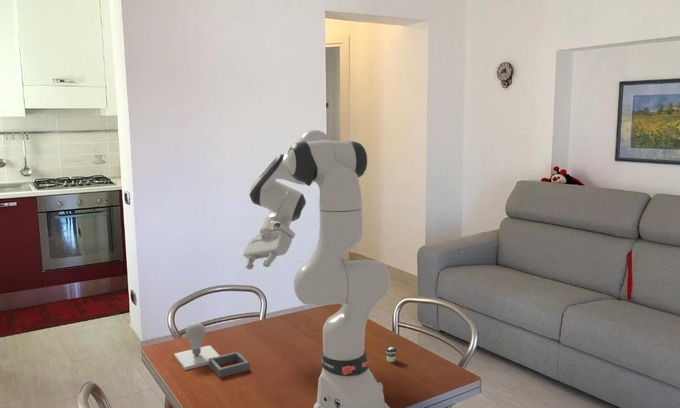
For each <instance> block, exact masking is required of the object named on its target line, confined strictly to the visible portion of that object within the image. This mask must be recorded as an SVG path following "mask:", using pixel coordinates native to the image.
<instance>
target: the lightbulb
mask: <svg viewBox="0 0 680 408" xmlns="http://www.w3.org/2000/svg"><path fill="white" fill-rule="evenodd" d="M205 335H206V327H205V326H204V325H203V324H202V323H201V322H198V321H193V322H190V323H189V324H188V325H187V327H186V328H185V336H186V339H187V340H188V341H189V343H190V348H191V350H192V353H193V355H196V356H197V355H199V354H200V353H201V347H202V342H203V338H204V337H205Z"/></svg>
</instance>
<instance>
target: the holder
mask: <svg viewBox="0 0 680 408" xmlns="http://www.w3.org/2000/svg"><path fill="white" fill-rule="evenodd" d="M233 362H237V363H235V364H231V365H227V366H223V367H221V366H220V365H224V364H229V363H233ZM208 366H209V367H210V369H211V370H212V371H213V372H214V373H215V374H216V375H217V376H218V378H220V379H221V378H224V377H228V376H231V375H236V374H239V373H243V372H247V371H250V361H248V359H246V358H245V357H244V356H243V355H242V354H241V353H240V352H239V351H234V352H230V353H227V354H223V355H222V354H221V355H220V356H217V357H213V358H209V364H208Z"/></svg>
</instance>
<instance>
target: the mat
mask: <svg viewBox="0 0 680 408" xmlns="http://www.w3.org/2000/svg"><path fill="white" fill-rule="evenodd" d="M217 356H221V355H220V354H219V353H218V352H217V351H216V350H215V349H214V348H213V347H212V346H211V345H206V346H201V353H200V354H199V355H197V356H196V355H193V353H192V349H188V350H184V351H180V352H175V353H173V357H174V358H175V360H176V361H177V362H178V363H179V365H180V366H181V368H182V369H183V370H184V371H188V370H191V369H196V368H199V367H204V366H207V365H208V366H209V358H213V357H217Z"/></svg>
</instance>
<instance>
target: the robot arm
mask: <svg viewBox="0 0 680 408" xmlns="http://www.w3.org/2000/svg"><path fill="white" fill-rule="evenodd" d="M367 167H368V154H367V152H366V149H365V147H364V146H363V145H362V144H361V143H360V142H356V141H352V140H346V141H343V140H331V138H330V137H329V136H328V134H327V133H326V132H324V131H321V130H317V129H311V130H308V131H306V132H305V133H304V134H302V136H301V137H300V138H299V139H298V140H297V142H295V143H293V144H291V146H290V147H289V149H288V152H287V153H282V154H281V153H280V154H279V155H278V156H276V157H275V158H274V159H273V160H272V162H271V163H270V164H269V165H268V166H267V168H266V169H265V170H264V171H263V172H262V173H261V175H260V176H259V177H258V178H256V179H255V180H254V182H253V183H252V185H251V187H250V189H249V197H250V200H251V202H252V203H253V204H254V205H257V206H260V207H263V208H265V209H267V210H269V213H268V215H267V216H266V217H265V218H264V221H263V223H262V225H261V227H260V229H259V234H257V235H256V236H253V237H252V238H251V239H250V240H249V242H248V243H247V245H246V247H245V249H244V250H243V254H242V255H243V257H244V258H246V259H247V263H246V265H245V268H246V269H247V270H253V268H254V266H255V265H254V262H255V261H256V260H260V259H265V258H267V259H265V260H264V261H263V264H262V265H263V267H265V268H269V267H271V265H272V263H273V262H274V260H275V259H276V258H277V257H278V256H284V255H285V254H286V253H287V252H288V251H289V248H290V247H291V244H292V241H293V239H294V238H295V237H296V233H295V232H294V231H293V230H292V229H291V228H290V226H291V223H293V222H295V221H298V220H299V219H300V217H301V213H302V211H303V209H304V208H305V206H306V204H307V200H306V198H305V195H304V194H303V193H302V192H300V191H299V190H298V189H297V190H296V189H295V188H292V186H291V187H290V186H288V185H286V184H284V183H281V182H280V181H277V180H284V181H288V182H290V183H292V184H293V183H294V184H297V185H300V186H301V185H303V186H305V185H306V186H307V187H310V186H311V185H312V184H313V183H316V184H317V186H318V188H319V203H318V204H319V206H318V207H319V230H318V231H319V232H318V233H319V234H318V240H317V244H316V247H315V250H314V251H313V254H312V255H311V257H310V258H309V259H308V260H307V262H305V264H303V265H302V266H301V267H300V268H299V269H297V272H296V274H295V276H294V278H293V289H294V290H293V291H294V293H295V296H296V297H297V298H298V300H299V301H300V302H301V303H302V304H303V305H309V306H310V305H312V306H330V305H338V304H339V305H341V304H342V306H341V308H340V309H339V310H338V311H336V312H335V313H334V314H332V315H330V316H329V317H327V319H326V321H325V322H324V325H323V327H322V351H321V357H320V360H321V366H322V369H321V372H320V376H319V377H318V380H317V381H318V382H317V394H316V395H317V396H316V402H315V403H314V405H313V408H391V407H390V406H389V405H388V404H387V402H385V395H384V385H383V383H382V382H378V381H377V380H376V378H375V376H374V373H372V372H371V370H370V368H369V367H370V366H371V364H369V363H370V362H371V361H370V360H368V356H367V352H366V350H365V335H366V326H367V321H368V319H369V316H370V314H371V312H372V310H373V309H374V307H375V306H376V304H377V303H378V302H379V301H381V300H382V299H383V298H384V297H386V296H387V294H388V292H389V290H390V289H391V288H390V287H391V284H392V281H391V280H392V278H391V277H392V276H391V273H390V271H389V269H388V267H387V265H386V264H385V263H384V262H382V261H379V260H370V259H357V260H356V259H354V260H353V259H352V260H343V261H342V259H343V256H344V254H345V253H346V252H347V251H348V250H350V249H351V248H353V247H355V246H356V245H358V243H359V242H360V241H361V240H362V238H363V233H364V232H363V204H362V199H363V198H362V192H361V186H360V181H359V178H361V177H362V176H363V175H364V174H365V172H366V170H367Z"/></svg>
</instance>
